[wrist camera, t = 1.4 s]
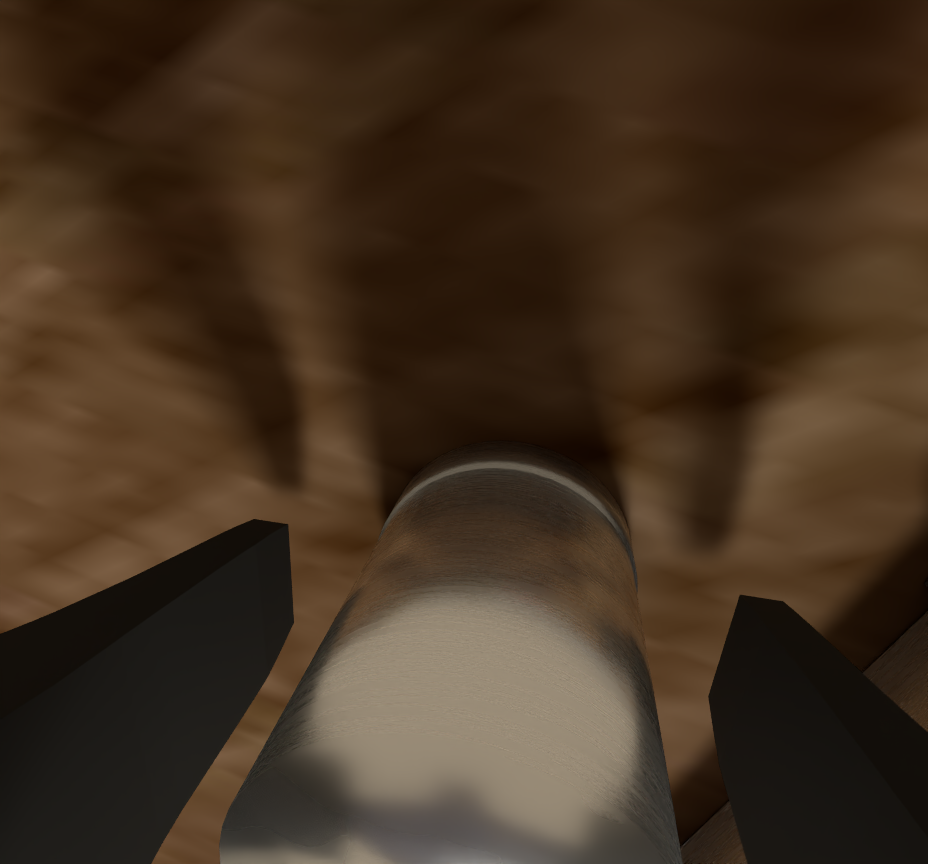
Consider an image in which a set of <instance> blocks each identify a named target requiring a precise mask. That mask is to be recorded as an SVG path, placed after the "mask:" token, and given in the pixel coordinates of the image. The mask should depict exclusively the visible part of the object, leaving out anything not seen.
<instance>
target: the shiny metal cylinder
mask: <svg viewBox="0 0 928 864" xmlns="http://www.w3.org/2000/svg"><path fill="white" fill-rule="evenodd" d="M219 847H220V864H683V862H682V856H681V850H680V844H679V838H678V832H677V826H676V820H675V815H674V809H673V803H672V797H671V791H670V785H669V779H668V774H667V768H666V762H665V756H664V750H663V744H662V738H661V732H660V727H659V721H658V715H657V709H656V703H655V697H654V691H653V686H652V680H651V674H650V668H649V662H648V656H647V650H646V644H645V639H644V633H643V627H642V621H641V615H640V609H639V603H638V598H637V573H636V567H635V562H634V556H633V551H632V545H631V540H630V534H629V529H628V526H627V523H626V520H625V517H624V515H623V513H622V511H621V509H620V507H619V505H618V503H617V501H616V500H615V499H614V497H613V496H612V494H611V493H610V492H609V490H608V489H607V488H606V487H605V486H604V485H603V484H602V482H601V481H600V480H599V479H598V478H597V477H596V476H594V475H593V474H592V473H591V472H590V471H588V470H587V469H586V468H585V467H583V466H582V465H580V464H578V463H577V462H575V461H574V460H572V459H570V458H569V457H567V456H564V455H562V454H560V453H558V452H556V451H553V450H550V449H547V448H544V447H541V446H538V445H534V444H528V443H523V442H515V441H487V442H481V443H475V444H470V445H466V446H463V447H460V448H457V449H454V450H452V451H450V452H447V453H445V454H443V455H441V456H439V457H438V458H436V459H435V460H433V461H432V462H430V463H429V464H427V465H426V466H425V467H424V468H423V469H421V470H420V471H419V472H418V473H417V474H416V475H415V476H414V477H413V479H412V480H411V481H410V482H409V483H408V485H407V486H406V488H405V489H404V491H403V493H402V494H401V496H400V498H399V499H398V501H397V503H396V505H395V506H394V508H393V510H392V512H391V513H390V515H389V517H388V519H387V521H386V522H385V524H384V527H383V529H382V531H381V534H380V536H379V540H378V543H377V544H376V546H375V548H374V550H373V552H372V553H371V555H370V557H369V559H368V561H367V562H366V564H365V566H364V568H363V570H362V571H361V573H360V575H359V577H358V579H357V580H356V582H355V584H354V586H353V587H352V589H351V591H350V593H349V595H348V596H347V598H346V600H345V602H344V604H343V605H342V607H341V609H340V611H339V613H338V614H337V616H336V618H335V620H334V622H333V623H332V625H331V627H330V629H329V631H328V632H327V634H326V636H325V638H324V640H323V641H322V643H321V645H320V647H319V648H318V650H317V652H316V654H315V656H314V657H313V659H312V661H311V663H310V665H309V666H308V668H307V670H306V672H305V674H304V675H303V677H302V679H301V681H300V683H299V684H298V686H297V688H296V690H295V692H294V693H293V695H292V697H291V699H290V700H289V702H288V704H287V706H286V708H285V709H284V711H283V713H282V715H281V717H280V718H279V720H278V722H277V724H276V726H275V727H274V729H273V731H272V733H271V735H270V736H269V738H268V740H267V742H266V744H265V745H264V747H263V749H262V751H261V753H260V754H259V756H258V758H257V760H256V761H255V763H254V765H253V767H252V769H251V770H250V772H249V774H248V776H247V778H246V779H245V781H244V783H243V785H242V787H241V788H240V790H239V792H238V794H237V796H236V797H235V799H234V801H233V803H232V805H231V806H230V808H229V810H228V813H227V815H226V818H225V821H224V823H223V826H222V831H221V838H220V844H219Z"/></svg>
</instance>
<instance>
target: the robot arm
mask: <svg viewBox="0 0 928 864" xmlns="http://www.w3.org/2000/svg"><path fill="white" fill-rule="evenodd" d="M293 623H294V615H293V598H292V581H291V564H290V547H289V530H288V524H283V523H276V522H270V521H263V520H257V519H253V520H251V521H248V522H246V523H243V524H241V525H238V526H236V527H234V528H232V529H230V530H228V531H225V532H223V533H221V534H219V535H217V536H215V537H213V538H211V539H209V540H207V541H205V542H203V543H201V544H199V545H197V546H195V547H193V548H191V549H189V550H187V551H185V552H183V553H180V554H178V555H176V556H174V557H172V558H170V559H168V560H166V561H164V562H162V563H160V564H158V565H156V566H154V567H152V568H150V569H148V570H146V571H144V572H142V573H140V574H137V575H135V576H133V577H131V578H129V579H127V580H125V581H123V582H120V583H118V584H116V585H114V586H111V587H109V588H107V589H105V590H103V591H100V592H98V593H96V594H94V595H91V596H89V597H87V598H85V599H82V600H80V601H78V602H76V603H74V604H71V605H69V606H67V607H65V608H62V609H60V610H58V611H56V612H53V613H51V614H49V615H46V616H44V617H41V618H39V619H37V620H34V621H32V622H29V623H27V624H24V625H22V626H19V627H17V628H14V629H12V630H9V631H7V632H4V633H1V634H0V864H151V863H152V861H153V859H154V857H155V856H156V854H157V852H158V850H159V848H160V846H161V844H162V843H163V841H164V839H165V838H166V836H167V834H168V833H169V831H170V829H171V828H172V826H173V824H174V823H175V821H176V819H177V818H178V816H179V814H180V813H181V811H182V809H183V808H184V806H185V805H186V803H187V802H188V800H189V799H190V797H191V796H192V794H193V792H194V791H195V789H196V788H197V786H198V785H199V783H200V782H201V780H202V779H203V777H204V776H205V774H206V772H207V771H208V769H209V768H210V766H211V765H212V763H213V762H214V760H215V759H216V757H217V755H218V754H219V752H220V751H221V749H222V748H223V746H224V745H225V743H226V742H227V740H228V739H229V737H230V735H231V734H232V732H233V731H234V729H235V728H236V726H237V725H238V723H239V722H240V720H241V718H242V717H243V715H244V714H245V712H246V711H247V709H248V708H249V706H250V704H251V703H252V701H253V700H254V698H255V697H256V695H257V693H258V692H259V690H260V689H261V687H262V685H263V684H264V682H265V681H266V679H267V677H268V675H269V673H270V671H271V669H272V667H273V665H274V663H275V661H276V659H277V657H278V655H279V653H280V651H281V649H282V647H283V645H284V643H285V640H286V638H287V636H288V634H289V632H290V630H291V627H292V625H293ZM708 697H709V704H710V711H711V718H712V724H713V731H714V737H715V743H716V749H717V755H718V760H719V766H720V769H721V773H722V777H723V780H724V784H725V787H726V791H727V795H728V798H729V802H730V805H731V809H732V812H733V816H734V819H735V823H736V826H737V830H738V833H739V837H740V840H741V843H742V847H743V850H744V854H745V857H746V861H747V864H928V732H927V731H926V730H925V729H924V728H923V727H921V726H920V725H919V724H918V723H917V722H916V721H915V720H914V719H912V718H911V717H910V716H909V715H908V714H907V713H906V712H905V711H903V710H902V709H901V708H900V707H899V706H898V705H897V704H896V703H895V702H894V701H892V700H891V699H890V698H889V697H888V696H887V695H886V694H885V693H884V692H882V691H881V690H880V689H879V688H878V687H877V686H876V685H875V684H874V683H873V682H872V681H870V680H869V679H868V678H867V677H866V676H865V675H864V674H863V673H862V672H861V671H860V670H858V669H857V668H856V667H855V666H854V665H853V664H852V663H851V662H850V661H849V660H848V659H847V658H846V657H844V656H843V655H842V654H841V653H840V652H839V651H838V650H837V649H836V648H835V647H834V646H833V645H832V644H830V643H829V642H828V641H827V640H826V639H825V638H824V637H823V636H822V635H821V634H820V633H819V632H817V631H816V630H815V629H814V628H813V627H812V626H811V625H810V624H809V623H808V622H806V621H805V620H804V619H803V618H802V617H801V616H800V615H799V614H797V613H796V612H795V611H794V610H793V609H792V608H790V607H789V606H788V605H787V604H786V603H784V602H783V601H777V600H771V599H764V598H758V597H752V596H745V595H740V596H739V599H738V603H737V606H736V609H735V612H734V616H733V619H732V622H731V625H730V628H729V632H728V635H727V638H726V641H725V644H724V648H723V651H722V654H721V657H720V661H719V664H718V667H717V670H716V673H715V677H714V680H713V683H712V686H711V690H710V693H709V696H708Z"/></svg>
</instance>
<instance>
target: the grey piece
mask: <svg viewBox="0 0 928 864" xmlns="http://www.w3.org/2000/svg"><path fill="white" fill-rule="evenodd" d="M924 584H925V585H926V586H927V587H928V580H927V581H926V582H925V583H924ZM863 674H864V675H865V676H866V677H867V678H868V679H869V680H870V681H872V682H873V683H874V684H875V685H876V686H877V687H878V688H879V689H880V690H881V691H882V692H884V693H885V694H886V695H887V696H888V697H889V698H890V699H891V700H892V701H894V702H895V703H896V704H897V705H898V706H899V707H900V708H901V709H902V710H903V711H905V712H906V713H907V714H908V715H909V716H910V717H911V718H912V719H914V720H915V721H916V722H917V723H918V724H919V725H920V726H921V727H923V728H924V729H925V730H926V731H927V732H928V611H927V612H926V613H925V614H924V615H923V616H922V617H921V618H920V619H919V620H918V621H917V622H916V623H915V624H914V625H913V626H912V627H911V628H909V629H908V630H907V631H906V632H905V633H904V634H903V635H902V636H901V637H900V638H899V639H898V640H897V641H896V642H895V643H894V644H893V645H892V646H891V647H890V648H889V649H888V650H886V651H885V652H884V653H883V654H882V655H881V656H880V657H879V658H878V659H877V660H876V661H875V662H874V663H873V664H872V665H871V666H870V667H869V668H868V669H867V670H866V671H864V672H863ZM680 850H681V856H682V862H683V864H747V861H746V857H745V854H744V850H743V847H742V843H741V840H740V837H739V833H738V830H737V826H736V823H735V819H734V816H733V812H732V809H731V805H730V802H729V801H728V802H727V803H726V804H725V805H724V806H723V807H722V808H721V809H720V810H719V811H718V812H717V813H716V814H715V815H714V816H713V817H712V818H711V819H710V820H709V821H708V822H706V823H705V824H704V825H703V826H702V827H701V828H700V829H699V830H698V831H697V832H696V833H695V834H694V835H693V836H692V837H691V838H690V839H689V840H688V841H687V842H686V843H684V844H683V845H682V846H681V847H680Z"/></svg>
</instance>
